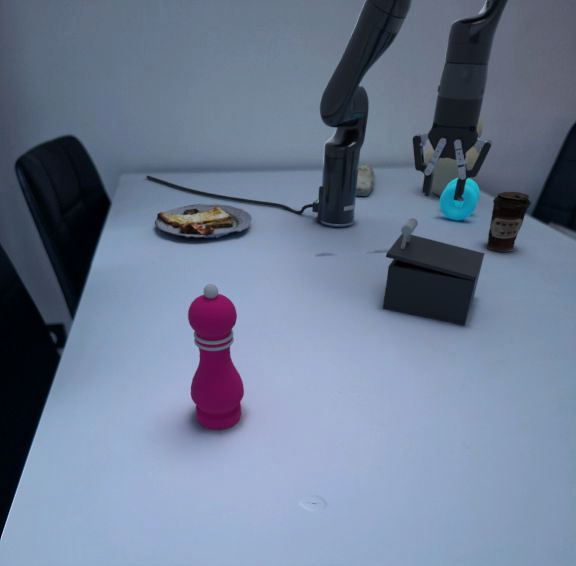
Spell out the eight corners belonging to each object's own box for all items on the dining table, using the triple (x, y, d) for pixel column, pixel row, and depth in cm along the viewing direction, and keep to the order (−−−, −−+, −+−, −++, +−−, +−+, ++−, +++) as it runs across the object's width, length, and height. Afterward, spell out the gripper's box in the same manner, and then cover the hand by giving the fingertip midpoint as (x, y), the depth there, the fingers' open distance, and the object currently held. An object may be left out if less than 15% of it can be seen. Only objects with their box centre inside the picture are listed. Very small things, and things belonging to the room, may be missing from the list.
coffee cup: (520, 256, 128) (535, 201, 121) (484, 252, 129) (497, 198, 122) (514, 243, 135) (529, 191, 128) (481, 240, 136) (493, 188, 129)
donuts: (435, 218, 150) (442, 182, 144) (441, 209, 158) (447, 174, 152) (472, 224, 147) (480, 186, 141) (475, 214, 155) (483, 178, 149)
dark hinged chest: (382, 308, 103) (388, 266, 98) (398, 284, 113) (404, 244, 108) (464, 325, 99) (475, 281, 93) (473, 298, 108) (483, 257, 103)
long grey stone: (343, 200, 167) (374, 203, 167) (345, 183, 164) (377, 186, 164) (344, 167, 195) (371, 170, 194) (346, 152, 191) (373, 155, 191)
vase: (478, 193, 173) (502, 88, 156) (463, 205, 161) (486, 93, 144) (429, 185, 180) (447, 84, 163) (411, 196, 169) (427, 88, 151)
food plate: (171, 249, 127) (169, 234, 125) (145, 220, 143) (143, 207, 141) (265, 234, 136) (265, 220, 134) (231, 209, 153) (230, 196, 151)
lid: (385, 257, 98) (392, 229, 95) (401, 236, 107) (408, 210, 104) (474, 281, 93) (484, 253, 90) (483, 257, 103) (492, 230, 100)
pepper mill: (194, 401, 78) (182, 272, 66) (244, 399, 78) (240, 272, 67) (191, 433, 72) (177, 298, 60) (245, 431, 72) (241, 297, 61)
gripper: (507, 94, 90) (483, 197, 100) (422, 88, 94) (408, 187, 104) (503, 99, 84) (478, 208, 94) (413, 93, 89) (399, 197, 99)
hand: (441, 196), depth 99 cm, fingers open, 4 cm apart
